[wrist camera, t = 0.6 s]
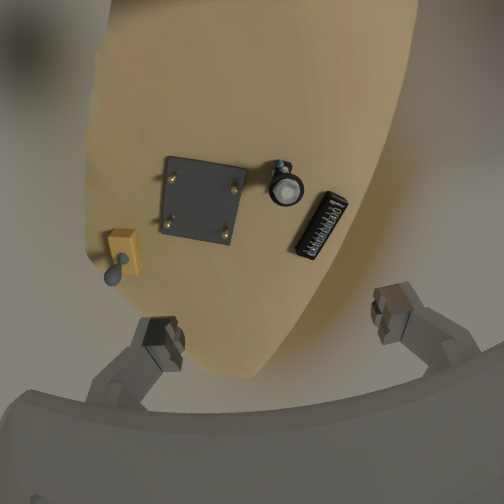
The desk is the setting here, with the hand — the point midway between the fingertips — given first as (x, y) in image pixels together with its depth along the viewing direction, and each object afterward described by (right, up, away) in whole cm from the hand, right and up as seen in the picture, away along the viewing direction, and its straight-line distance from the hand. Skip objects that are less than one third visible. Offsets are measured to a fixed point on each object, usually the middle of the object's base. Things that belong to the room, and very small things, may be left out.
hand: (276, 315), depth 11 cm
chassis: (-10, +12, +40) cm, 43 cm away
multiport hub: (+13, +8, +44) cm, 47 cm away
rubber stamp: (-28, +3, +46) cm, 54 cm away
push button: (+4, +16, +38) cm, 41 cm away
